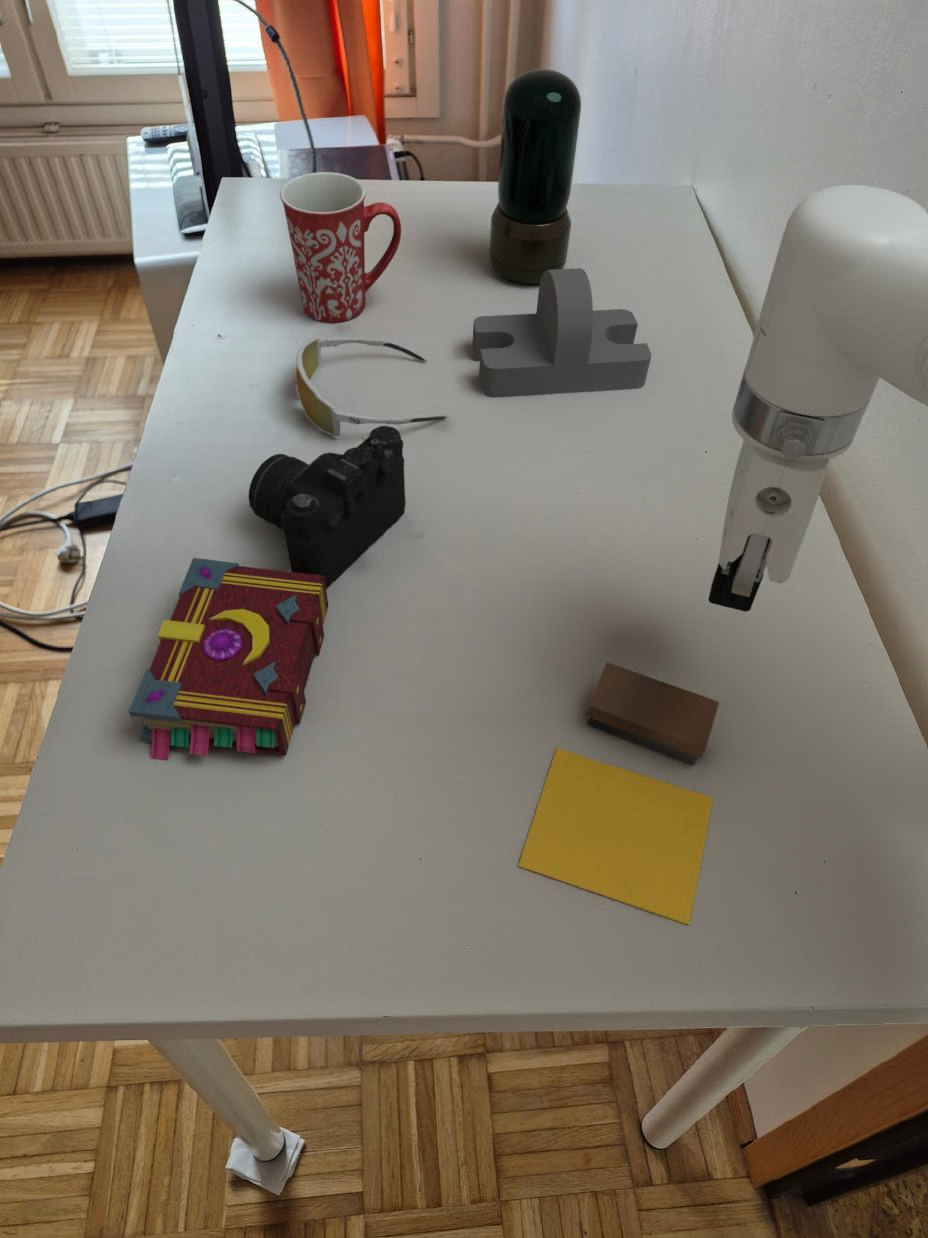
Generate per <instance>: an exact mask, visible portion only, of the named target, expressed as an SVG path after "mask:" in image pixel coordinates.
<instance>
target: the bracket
mask: <svg viewBox="0 0 928 1238" xmlns="http://www.w3.org/2000/svg"><path fill="white" fill-rule="evenodd" d="M591 288H592V287H591V284H590V280H589V277H588V273H587V272H586V270H585V269H582V267H579V268H578V267H577V268H563V269H555V270H546V271H544V273H543V275H542V278H541V282H540V283H539V288H538V294H537V304H536V312H535V313H521V314H520V313H519V314H517V313H516V314H501V315H482V316H481V315H480V316H477V317H475V318H474V320H473V324H472V325H473V326H472V343H471V344H472V345H471V352H472V356H473V360H474V362H479V365H478V367H479V368H478V380H479V384H480V388H481V392H482V394H483V395H484V396H486V397H488V398H493V399H494V398H509V397H511V398H512V397H527V396H540V395H541V396H542V395H556V394H574V393H589V392H591V393H592V392H604V391H623V390H624V391H625V390H638V389H642V388H643V387H645V385H646V382H647V376H648V372H649V368H650V363H651V359H652V352H651V350H650V347H649V345H648V343H647V342H642V343H635V339H636V334H637V329H638V325H639V323H638V322H637V319H636V317H635V315H634V313H633V312H631V311H630V310H628V309H626V308H625V309H623V308H616V309H598V310H594V305H593V294H592V289H591Z"/></svg>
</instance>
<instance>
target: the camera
mask: <svg viewBox="0 0 928 1238" xmlns="http://www.w3.org/2000/svg"><path fill="white" fill-rule="evenodd" d="M403 450H404V441H403V440H402V438H401V433H400V431H399V430H398V429H397V428H395V427H393V426H389V425H380V426H377V427H375V428H373V429H372V430H371V431H370V432H369V434H368V437H367V438H366V439H364V441H362V442H361V443H360V444H359V445H357V446H356V447H351V448H349V449H346V450H345V451H344V453H343V454H340V453H335V452H325V453H322V454H320V455H318V456H317V457H316V458H315V459H314V460H313V461H311V463H307V462H305V461H303V460H301V459H299V458H297V457H295V456H289V455H287V454H282V453H276V454H273V455H271V456H270V457H268V458H267V459H265V460H264V461H263V462H262V463H261V464H260V465H259V466H258V468H257V470H256V471H255V473H254V474H253V477H252V479H251V481H250V484H249V489H248V503H249V507H250V509H251V510H252V512H253V513H254V515H255V516H257V517H259V518H260V519H262V520H263V521H264V522H266V523H268V524H269V525H272V526H274V527H275V528H276V529H279V530H280V531H282V532H283V536H284V541H285V546H286V552H287V557H288V563H289V568H290V572H297V573H306V574H314V575H323V576H325V583H326V590H328V589H329V588H330V587H331V586H332V584H333V583H334V582H336V581H337V580H338V579H339V578H340V577H341V576H342V575H343V574H344V573H345V572H346V571H347V570H348V569H349V568H350V567H351V566H352V565H353V564H354V563H355V562H357V561H358V560H359V559H360V558H361V556H363V555H364V554H365V553H366V552H367V551H368V550H369V548H370V547H371V546H372V545H374V544H375V543H376V542H378V540H380V538H381V537H382V536H383V535H384V534H385V533H386V532H387V531H388V530H389V529H391V528H393V526H394V525H395V524H396V523H397V522H398V521H399V520H400V519H401V518H402V516H403V515H404V514H405V510H406V503H407V502H406V486H405V481H406V480H405V458H404V455H403Z"/></svg>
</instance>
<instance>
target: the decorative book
mask: <svg viewBox="0 0 928 1238" xmlns="http://www.w3.org/2000/svg"><path fill="white" fill-rule="evenodd" d="M327 590H328V589H327ZM327 590H326V583H325V576H323V575H314V574H306V573H297V572H291V571H287V570H278V569H272V568H271V569H269V568H261V567H252V566H243V565H239V563H238V562H233V561H232V562H231V561H224V560H215V559H207V558H199V557H193V558H192V559H191V562H190V564H189V567H188V569H187V572H186V574H185V576H184V579H183V581H182V583H181V586H180V589H179V591H178V596H179V598H178V600H177V603H176V605H175V607H174V609H173V612H172V614H171V617H170V619H169V620H168V619H164V620H163V622H162V624H161V627H160V629H159V631H158V634H157V639H158V641H159V645H158V648H157V649H156V652H155V654H154V657H153V659H152V661H151V664H150V666H149V668H148V667H146V669H145V671H144V673H143V675H142V677H141V680H140V683H139V684H138V687H137V689H136V691H135V694H134V695H133V699H132V701H131V703H130V705H129V707H128V709H127V713H128V715H129V716H130V717H131V718H140V719H143V720H144V722H145V723H144V724H143V728H142V729H141V733H140V735H139V737H140V739H141V741H142V742H149V743H151V748H150V759H155V760H161V761H162V760H163V761H168V760H169V754H170V746H172V747H181V748H186V749H187V748H189V752H188V754H189V755H197V756H206V757H208V754H209V747H213V748H222V749H227V750H228V749H229V750H236V751H237V752H241V753H248V754H256V753H262V754H270V755H276V756H284V757H285V756H287V754H288V750H289V746H290V743H291V739H292V737H293V734H294V733H293V732H294V730H295V724H297V725H300V724H301V721H302V717H303V715H304V711H305V707H306V703H307V700H306V694H305V690H306V687H307V683H308V681H309V680H308V679H309V676H310V672H311V670H312V669H311V668H312V665H313V662H314V658H315V656H320V653H321V649H322V646H323V642H324V639H325V629H324V623H325V619H326V616H327V612H328V608H329V598H328V591H327Z"/></svg>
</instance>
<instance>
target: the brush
mask: <svg viewBox="0 0 928 1238" xmlns="http://www.w3.org/2000/svg"><path fill="white" fill-rule="evenodd" d="M719 706H720V701H719V700H715V699H713V698H710V697H707V696H704V695H701V694H699V693H696V692H693V691H690V690H687V689H684V688H681V687H678V686H676V685H673V684H670V683H668V682H665V681H662V680H659V679H656V678H654V677H651V676H648V675H645V674H642V673H639V672H638V671H637V672H636V671H634V670H632V669H628V668H625V667H622V666H619V665H617V664H614V663H611V662H609V661H606V662H605V665H604V667H603V669H602V672H601V674H600V676H599V679H598V682H597V684H596V687H595V688H594V691H593V693H592V696H591V699H590V701H589V704H588V707H587V710H586V714H585V716H586V717H587V722H586V726H588V727H590V728H593V729H595V730H598V731H600V732H604V733H606V734H609V735H611V736H613V737H616V738H619V739H621V740H624V741H628V742H630V743H632V744H636V745H638V746H641V747H643V748H645V749H648V750H651V751H654V752H656V753H659V754H662V755H664V756H667V757H670V758H672V759H675V760H678V761H679V762H680V761H681V762H684V763H686V764H689V765H691V766H695V764H696V762H697V760H698V759H702V757H703V756H704V753H705V751H706V749H707V745H708V742H709V739H710V736H711V733H712V729H713V725H714V722H715V719H716V716H717V712H718V709H719Z"/></svg>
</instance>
